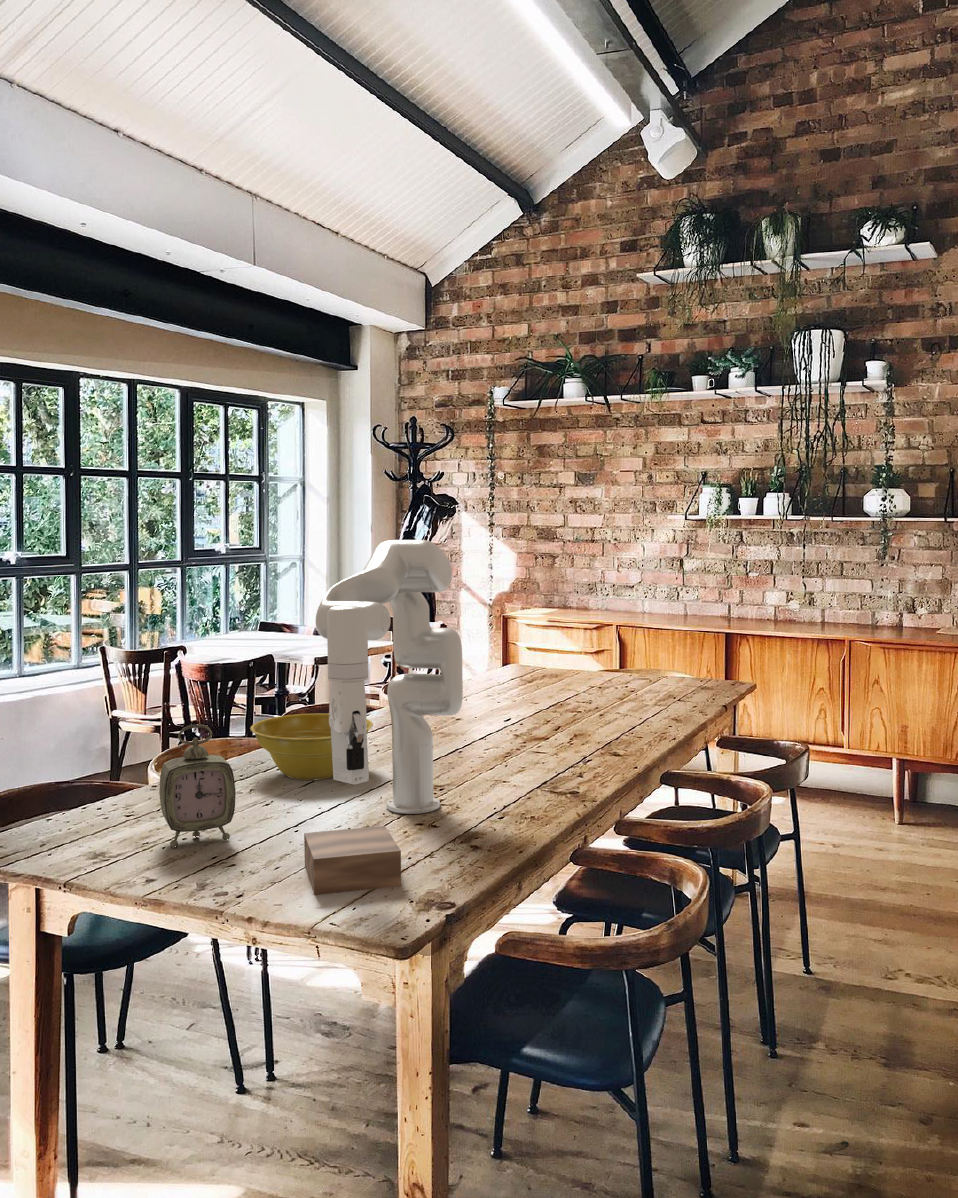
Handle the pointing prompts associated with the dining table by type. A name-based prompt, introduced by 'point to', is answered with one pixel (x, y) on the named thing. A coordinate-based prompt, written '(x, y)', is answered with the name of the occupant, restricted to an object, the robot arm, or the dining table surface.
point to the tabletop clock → (197, 790)
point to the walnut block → (352, 860)
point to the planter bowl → (299, 744)
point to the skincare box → (341, 759)
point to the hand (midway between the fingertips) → (349, 764)
